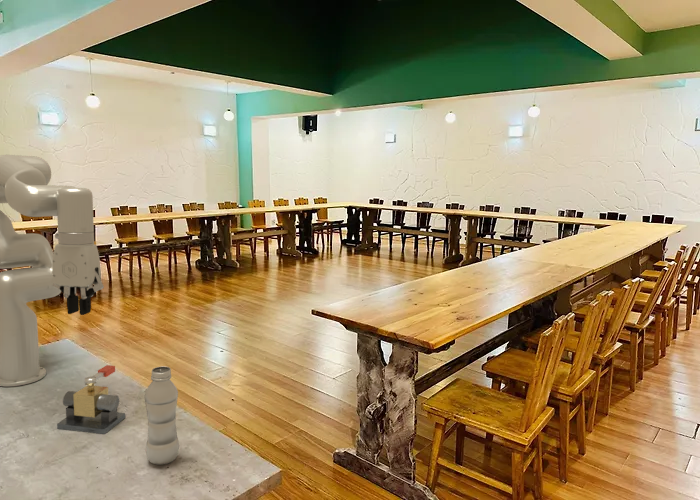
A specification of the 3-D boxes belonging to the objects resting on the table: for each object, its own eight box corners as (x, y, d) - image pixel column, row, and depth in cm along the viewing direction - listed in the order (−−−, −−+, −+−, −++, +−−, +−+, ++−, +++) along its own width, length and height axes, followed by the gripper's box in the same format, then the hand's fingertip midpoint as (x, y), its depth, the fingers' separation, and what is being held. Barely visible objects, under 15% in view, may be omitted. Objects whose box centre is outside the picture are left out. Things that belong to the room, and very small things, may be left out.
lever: (92, 386, 113) (91, 380, 113) (82, 385, 114) (82, 379, 113) (115, 371, 122) (115, 365, 122) (106, 370, 122) (106, 365, 122)
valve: (57, 428, 113) (55, 388, 112) (80, 412, 121) (79, 375, 119) (104, 434, 111) (103, 393, 110) (125, 417, 119) (124, 379, 118)
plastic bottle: (168, 471, 98) (167, 377, 96) (138, 466, 100) (136, 373, 97) (185, 454, 105) (184, 365, 102) (157, 449, 106) (155, 362, 103)
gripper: (34, 239, 114) (37, 314, 117) (97, 242, 112) (99, 319, 115) (57, 235, 121) (60, 307, 124) (116, 239, 119) (118, 311, 122)
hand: (79, 312), depth 119 cm, fingers open, 2 cm apart
